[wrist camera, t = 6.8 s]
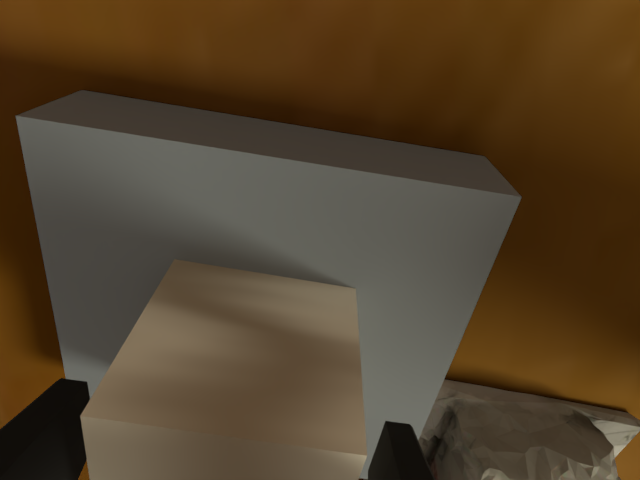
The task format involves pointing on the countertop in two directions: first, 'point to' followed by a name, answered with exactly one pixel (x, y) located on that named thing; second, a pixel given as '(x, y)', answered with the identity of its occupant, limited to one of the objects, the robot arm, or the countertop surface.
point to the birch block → (233, 383)
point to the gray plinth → (262, 229)
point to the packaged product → (521, 436)
